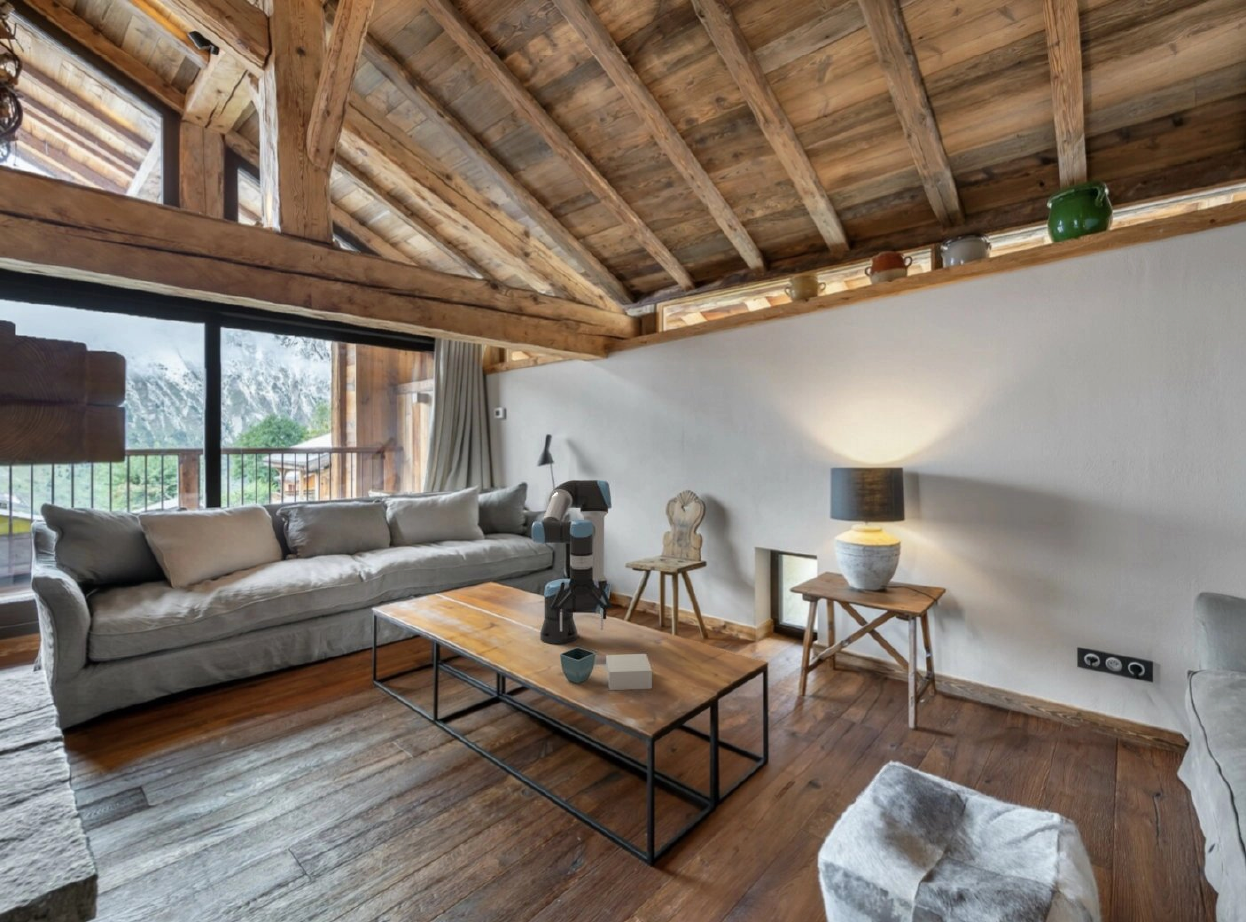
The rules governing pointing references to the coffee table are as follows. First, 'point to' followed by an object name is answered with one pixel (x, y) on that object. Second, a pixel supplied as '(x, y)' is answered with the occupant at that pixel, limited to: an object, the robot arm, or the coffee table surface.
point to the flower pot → (577, 664)
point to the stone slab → (628, 672)
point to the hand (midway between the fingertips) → (581, 629)
